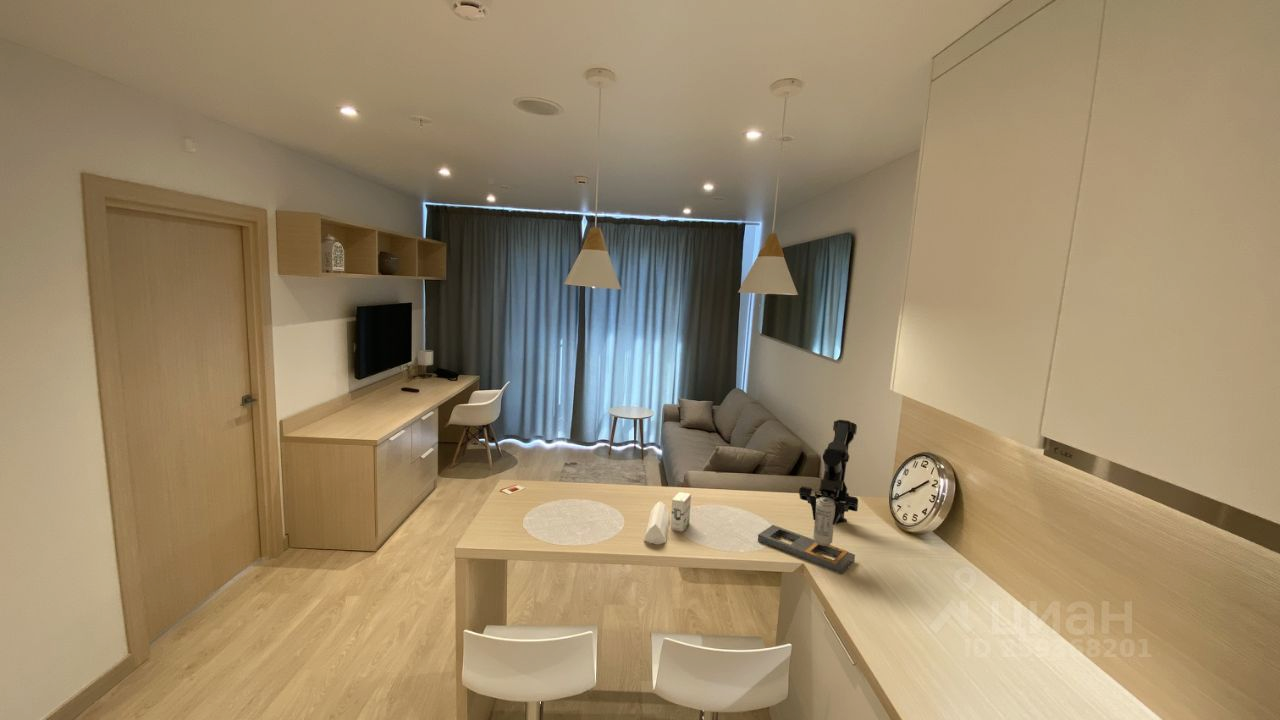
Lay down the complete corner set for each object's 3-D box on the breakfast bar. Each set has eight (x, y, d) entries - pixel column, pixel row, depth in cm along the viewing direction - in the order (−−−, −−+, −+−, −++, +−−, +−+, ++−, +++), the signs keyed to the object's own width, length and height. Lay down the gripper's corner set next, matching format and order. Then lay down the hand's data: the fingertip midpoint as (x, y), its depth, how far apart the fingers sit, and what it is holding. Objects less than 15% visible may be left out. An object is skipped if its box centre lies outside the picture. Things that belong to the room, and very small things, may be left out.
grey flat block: (757, 541, 182) (758, 533, 182) (772, 531, 190) (772, 524, 190) (842, 574, 162) (842, 566, 162) (854, 561, 170) (855, 553, 170)
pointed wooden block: (646, 505, 200) (638, 534, 176) (662, 498, 199) (656, 525, 175) (655, 521, 200) (648, 552, 177) (671, 514, 199) (666, 544, 175)
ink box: (677, 520, 196) (679, 491, 195) (689, 522, 195) (691, 493, 193) (670, 529, 189) (671, 499, 187) (683, 532, 187) (684, 501, 185)
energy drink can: (835, 543, 171) (839, 500, 169) (825, 548, 167) (829, 505, 165) (819, 536, 176) (823, 494, 174) (809, 541, 172) (813, 498, 170)
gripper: (802, 463, 176) (792, 505, 168) (860, 474, 167) (853, 519, 159) (804, 478, 184) (796, 518, 176) (860, 489, 175) (854, 532, 167)
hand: (823, 522), depth 169 cm, fingers closed on energy drink can, 6 cm apart
